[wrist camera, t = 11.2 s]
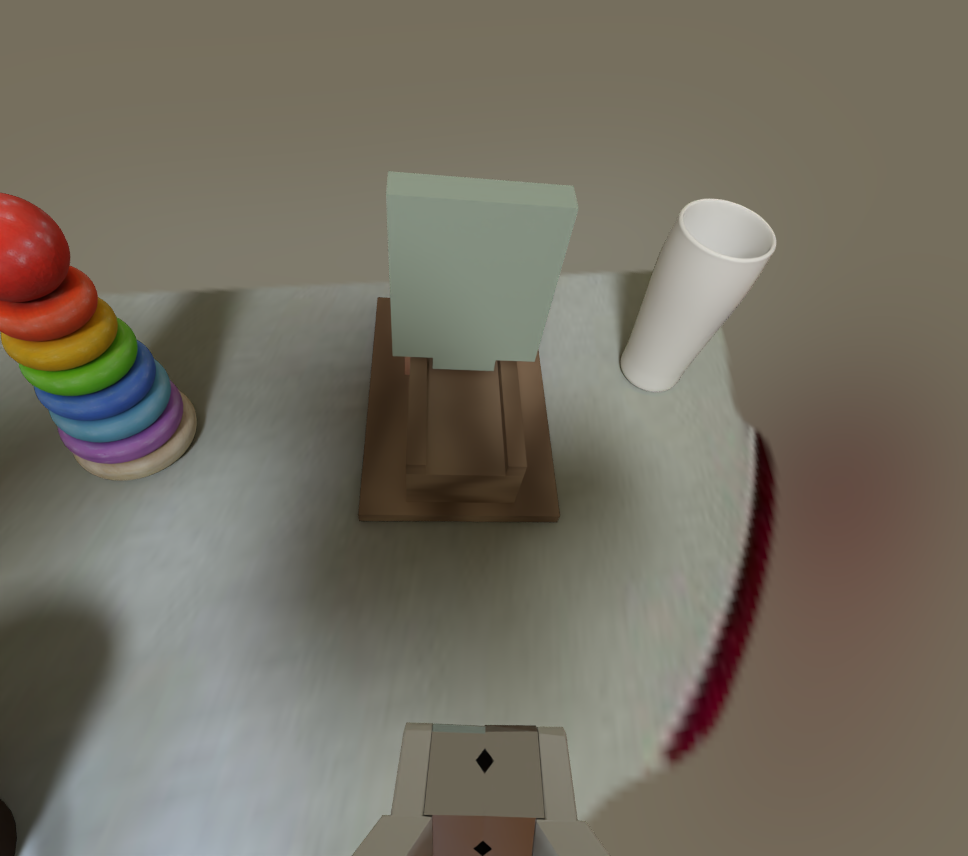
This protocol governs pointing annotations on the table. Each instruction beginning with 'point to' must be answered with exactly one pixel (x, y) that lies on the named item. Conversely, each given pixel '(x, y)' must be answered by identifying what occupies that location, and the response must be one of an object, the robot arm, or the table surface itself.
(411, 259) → the pale green panel
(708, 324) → the drinking glass
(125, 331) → the stacking toy
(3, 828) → the coffee mug
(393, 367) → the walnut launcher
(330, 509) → the table surface
